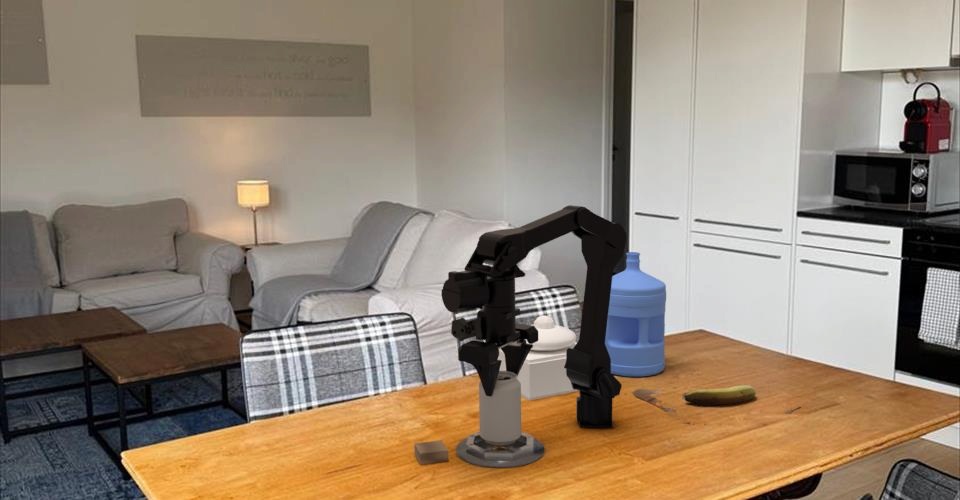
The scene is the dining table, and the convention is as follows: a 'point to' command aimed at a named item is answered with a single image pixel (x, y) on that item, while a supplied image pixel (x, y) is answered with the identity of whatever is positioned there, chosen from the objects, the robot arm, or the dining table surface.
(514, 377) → the can
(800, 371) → the dining table surface
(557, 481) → the dining table surface
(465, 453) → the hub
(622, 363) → the water jug
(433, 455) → the walnut block
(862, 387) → the dining table surface
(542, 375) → the butter dish
